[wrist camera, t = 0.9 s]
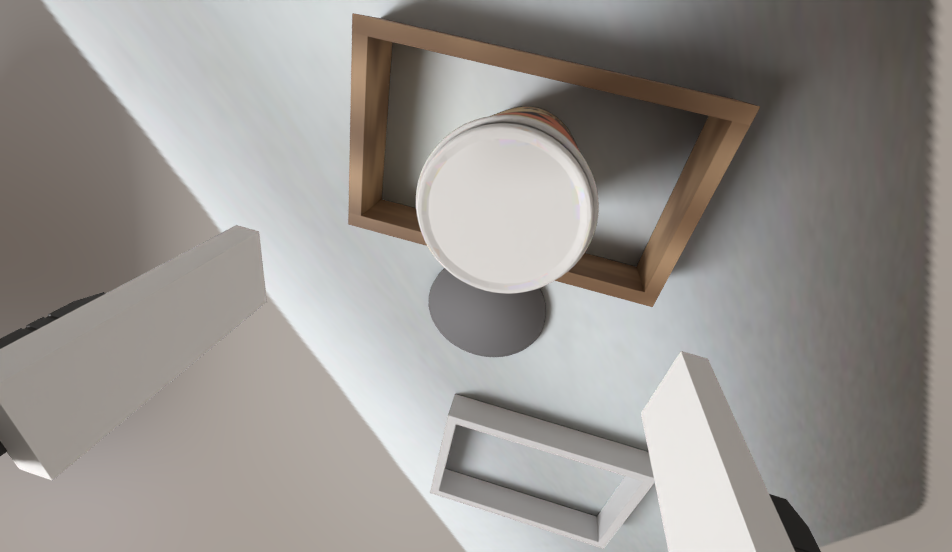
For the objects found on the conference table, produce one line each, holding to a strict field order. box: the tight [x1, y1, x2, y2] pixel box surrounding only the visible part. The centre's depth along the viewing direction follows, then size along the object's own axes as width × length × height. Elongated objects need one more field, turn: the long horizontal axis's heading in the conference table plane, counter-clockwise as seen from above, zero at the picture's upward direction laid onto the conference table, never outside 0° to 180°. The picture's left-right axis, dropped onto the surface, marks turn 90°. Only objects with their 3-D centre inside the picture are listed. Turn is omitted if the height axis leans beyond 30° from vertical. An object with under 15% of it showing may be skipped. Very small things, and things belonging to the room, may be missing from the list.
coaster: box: [429, 268, 546, 357], centre depth 37 cm, size 11×11×1 cm
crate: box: [348, 13, 760, 307], centre depth 28 cm, size 14×24×4 cm, turn 79°
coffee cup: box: [416, 107, 599, 293], centre depth 24 cm, size 9×9×12 cm
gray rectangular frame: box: [430, 394, 655, 549], centre depth 45 cm, size 15×22×3 cm
